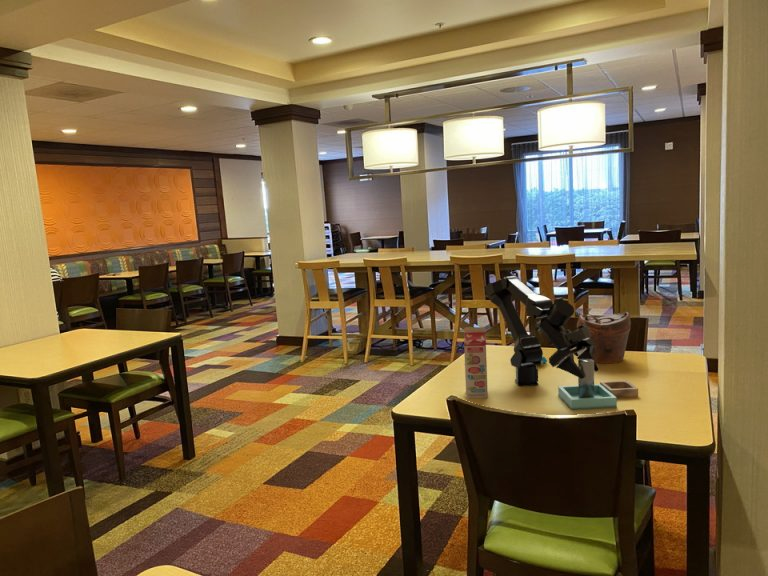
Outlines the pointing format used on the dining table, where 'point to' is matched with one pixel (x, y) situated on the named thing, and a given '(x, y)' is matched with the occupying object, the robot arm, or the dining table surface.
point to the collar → (621, 388)
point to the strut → (586, 378)
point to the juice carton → (475, 362)
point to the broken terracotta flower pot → (608, 335)
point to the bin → (599, 401)
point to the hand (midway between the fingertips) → (590, 374)
